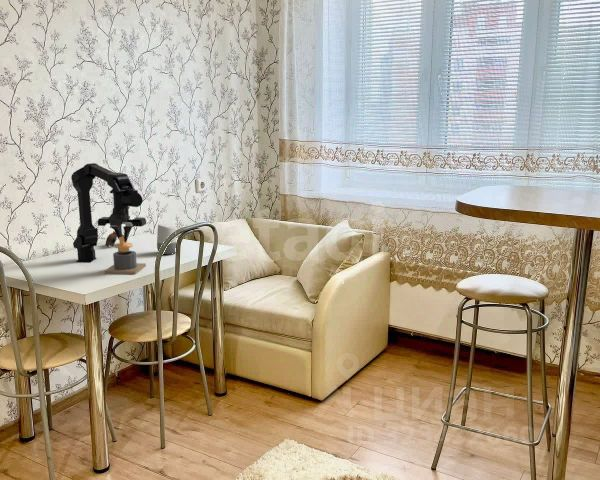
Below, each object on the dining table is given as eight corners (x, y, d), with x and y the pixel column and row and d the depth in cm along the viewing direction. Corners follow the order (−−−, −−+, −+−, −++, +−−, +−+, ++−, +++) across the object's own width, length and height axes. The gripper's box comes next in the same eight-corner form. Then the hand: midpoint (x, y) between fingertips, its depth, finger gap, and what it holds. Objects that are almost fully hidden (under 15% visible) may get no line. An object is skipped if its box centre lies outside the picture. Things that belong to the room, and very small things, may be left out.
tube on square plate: (104, 273, 243) (103, 256, 242) (116, 265, 256) (115, 249, 254) (135, 274, 242) (134, 257, 241) (145, 266, 255) (145, 249, 253)
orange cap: (112, 253, 244) (111, 238, 243) (118, 249, 251) (117, 234, 250) (129, 253, 243) (128, 238, 242) (135, 249, 250) (134, 234, 249)
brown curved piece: (106, 244, 297) (114, 230, 298) (123, 253, 297) (131, 238, 298) (99, 244, 285) (107, 228, 286) (116, 253, 285) (124, 237, 286)
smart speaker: (180, 254, 276) (178, 224, 273) (160, 256, 272) (158, 226, 268) (174, 250, 284) (173, 221, 281) (155, 252, 280) (153, 223, 277)
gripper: (90, 207, 236) (93, 246, 239) (136, 208, 234) (138, 246, 238) (101, 203, 247) (104, 240, 250) (145, 204, 245) (147, 240, 249)
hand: (123, 242), depth 246 cm, fingers closed on orange cap
